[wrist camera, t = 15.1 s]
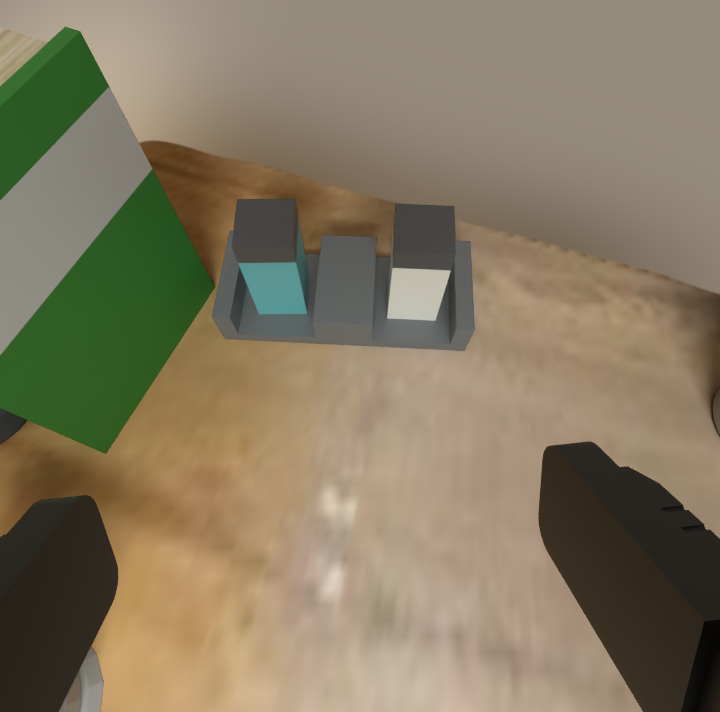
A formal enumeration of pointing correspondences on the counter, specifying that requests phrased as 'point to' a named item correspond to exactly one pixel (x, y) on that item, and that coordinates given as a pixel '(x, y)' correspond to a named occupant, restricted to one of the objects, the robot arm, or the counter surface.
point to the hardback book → (82, 247)
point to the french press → (85, 687)
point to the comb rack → (348, 302)
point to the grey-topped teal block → (271, 254)
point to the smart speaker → (9, 424)
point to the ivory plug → (420, 260)
